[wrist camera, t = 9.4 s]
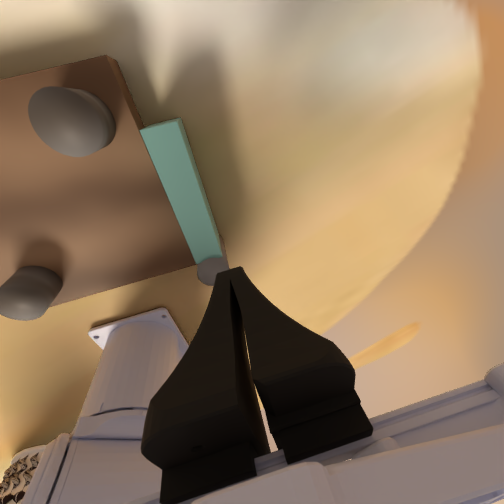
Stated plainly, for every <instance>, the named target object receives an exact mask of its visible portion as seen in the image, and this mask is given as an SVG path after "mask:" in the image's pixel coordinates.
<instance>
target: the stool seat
mask: <svg viewBox="0 0 504 504" xmlns="http://www.w3.org/2000/svg"><path fill="white" fill-rule="evenodd" d="M143 128H144V126H143V123H142V121H141V118H140V116H139V114H138V111H137V109H136V106H135V104H134V102H133V99H132V97H131V94H130V92H129V90H128V87H127V85H126V82H125V80H124V78H123V75H122V73H121V70H120V68H119V66H118V63H117V61H116V60H114V59H112V58H110V57H109V56H107V55H104V56H100V57H96V58H91V59H87V60H83V61H78V62H74V63H70V64H66V65H61V66H57V67H53V68H48V69H44V70H40V71H36V72H31V73H27V74H23V75H19V76H14V77H10V78H6V79H1V80H0V314H1V315H3V316H5V317H8V318H11V319H15V320H24V321H26V320H34V319H37V318H39V317H41V316H42V315H43V314H44V313H45V312H46V310H47V309H48V307H52V306H55V305H59V304H62V303H65V302H69V301H72V300H76V299H79V298H83V297H86V296H89V295H93V294H96V293H100V292H103V291H107V290H110V289H113V288H117V287H120V286H124V285H127V284H131V283H134V282H137V281H141V280H144V279H148V278H151V277H155V276H158V275H161V274H165V273H168V272H172V271H175V270H179V269H182V268H185V267H189V266H192V265H196V262H195V260H194V258H193V255H192V253H191V250H190V248H189V246H188V243H187V241H186V239H185V236H184V234H183V232H182V229H181V227H180V225H179V222H178V220H177V218H176V215H175V213H174V211H173V208H172V206H171V203H170V201H169V199H168V196H167V194H166V192H165V189H164V187H163V185H162V182H161V180H160V178H159V175H158V173H157V171H156V168H155V166H154V163H153V161H152V159H151V156H150V154H149V152H148V149H147V147H146V145H145V142H144V140H143V138H142V135H141V133H140V131H139V130H141V129H143Z"/></svg>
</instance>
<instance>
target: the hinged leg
mask: <svg viewBox="0 0 504 504" xmlns="http://www.w3.org/2000/svg"><path fill="white" fill-rule="evenodd" d="M139 131H140V133H141V135H142V138H143V140H144V142H145V145H146V147H147V149H148V152H149V154H150V156H151V159H152V161H153V163H154V166H155V168H156V171H157V173H158V175H159V178H160V180H161V182H162V185H163V187H164V189H165V192H166V194H167V196H168V199H169V201H170V203H171V206H172V208H173V211H174V213H175V215H176V218H177V220H178V222H179V225H180V227H181V229H182V232H183V234H184V236H185V239H186V241H187V243H188V246H189V248H190V250H191V253H192V255H193V258H194V260H195V262H196V264H197V275H198V278H199V280H200V281H201V282H202V283H204V284H206V285H210V286H214V283H215V278H216V274H217V273H219V272H222V271H226V270H229V265H228V261H227V256H226V251H225V246H224V242H223V239H222V237H221V236H220V235H219V234H218V230H217V227H216V224H215V221H214V218H213V215H212V212H211V209H210V206H209V203H208V200H207V197H206V193H205V190H204V187H203V184H202V181H201V178H200V175H199V172H198V169H197V166H196V163H195V160H194V157H193V154H192V151H191V147H190V144H189V141H188V138H187V135H186V132H185V129H184V126H183V123H182V120H181V117H180V118H176V119H172V120H168V121H164V122H160V123H156V124H152V125H150V126H148V127H145V128H143V129H141V130H139Z"/></svg>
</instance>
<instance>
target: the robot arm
mask: <svg viewBox="0 0 504 504" xmlns="http://www.w3.org/2000/svg"><path fill="white" fill-rule="evenodd" d="M163 315H166V316H163ZM244 330H245V331H244ZM88 335H89V336H90V337H91V338H92V339H93V340H94V341H95V342H96V343H97V344H98V345H99V346H100V347H101V348H102V349H103V352H102V355H101V358H100V360H99V363H98V366H97V369H96V371H95V374H94V377H93V379H92V382H91V385H90V388H89V390H88V393H87V396H86V398H85V401H84V404H83V406H82V409H81V412H80V415H79V417H78V420H77V423H76V425H75V427H74V429H73V431H72V433H71V434H69V433H61V434H59V436H58V437H57V438H55V439H54V440H52V441H51V442H50V443H48V444H47V446H46V448H45V450H44V452H43V454H42V457H41V459H40V461H39V463H38V466H37V468H36V470H35V472H34V475H33V477H32V479H31V481H30V484H29V486H28V488H27V490H26V493H25V495H24V497H23V500H22V502H21V504H492V503H494V502H497V501H499V500H501V499H504V363H501V364H498V365H496V366H494V367H493V368H491V369H490V370H489V371H488V372H487V373H486V375H485V377H484V380H481V381H478V382H475V383H472V384H469V385H466V386H463V387H460V388H457V389H454V390H452V391H449V392H446V393H443V394H440V395H437V396H434V397H431V398H428V399H425V400H423V401H420V402H417V403H414V404H411V405H408V406H405V407H402V408H400V409H397V410H394V411H391V412H388V413H385V414H382V415H379V416H376V417H373V418H370V419H368V417H367V416H366V414H365V412H364V410H363V408H362V407H361V405H360V402H361V401H360V399H359V397H358V395H357V393H356V391H355V390H354V385H355V370H354V368H353V366H352V365H351V363H350V362H349V360H348V359H347V358H346V356H345V355H344V354H343V353H342V352H341V350H340V349H339V348H338V347H337V346H336V345H335V344H334V343H333V342H332V341H330V340H328V339H326V338H324V337H322V336H320V335H318V334H316V333H314V332H312V331H311V330H309V329H307V328H306V327H304V326H302V325H301V324H299V323H298V322H296V321H295V320H293V319H292V318H290V317H289V316H287V315H286V314H285V313H283V312H282V311H281V310H279V309H278V308H277V307H276V306H274V305H273V304H272V303H271V302H270V301H269V300H268V299H267V298H266V297H265V296H264V295H263V294H262V293H261V292H260V291H259V290H258V289H257V288H256V287H255V286H254V284H253V283H252V282H251V281H250V279H249V278H248V277H247V275H246V273H245V272H244V270H243V267H240V266H239V267H236V268H233V269H229V270H226V271H222V272H219V273H217V274H216V278H215V283H214V287H213V291H212V295H211V298H210V301H209V304H208V307H207V309H206V312H205V315H204V317H203V320H202V322H201V324H200V326H199V328H198V330H197V333H196V335H195V336H194V338H193V340H192V342H191V344H190V345H188V343H187V342H186V340H185V338H184V337H183V335H182V333H181V332H180V330H179V329H178V327H177V325H176V324H175V322H174V320H173V319H172V317H171V315H170V314H169V312H168V310H167V309H166V308H158V309H155V310H151V311H148V312H145V313H141V314H138V315H135V316H131V317H128V318H125V319H121V320H118V321H115V322H111V323H108V324H105V325H101V326H98V327H95V328H91V329H90V330H89V332H88ZM96 335H97V336H96ZM245 335H246V338H245ZM246 341H247V346H246ZM247 347H248V353H249V359H250V364H249V359H248V353H247ZM250 366H251V368H250ZM254 384H255V385H254ZM255 387H256V389H257V392H258V394H259V397H260V399H261V402H262V404H263V407H264V409H265V412H266V417H267V421H268V426H269V430H270V433H271V434H272V436H273V438H274V440H275V443H276V445H277V448H278V451H275V452H272V453H271V451H270V447H269V444H268V439H267V435H266V431H265V427H264V423H263V419H262V415H261V411H260V406H259V402H258V398H257V394H256V390H255ZM351 458H352V459H351ZM348 459H351V460H348ZM346 460H348V461H346ZM343 461H344V462H343Z"/></svg>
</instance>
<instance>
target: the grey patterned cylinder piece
mask: <svg viewBox="0 0 504 504" xmlns="http://www.w3.org/2000/svg"><path fill="white" fill-rule="evenodd" d="M46 446H47V445H38V446H34V447H30V448H26V449H24V450H22V451H20V452H18V453H16V454H15V456H14V457H13V458H12V460H11V466H10V468H8V469H7V470H6V471H5V472H4V474H5V475H4V477H3V481H2V483H1V484H0V504H21V502H22V500H23V497H24V495H25V493H26V490H27V488H28V486H29V484H30V481H31V479H32V477H33V475H34V472H35V470H36V468H37V466H38V463H39V461H40V459H41V457H42V454H43V452H44V450H45V448H46Z"/></svg>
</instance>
